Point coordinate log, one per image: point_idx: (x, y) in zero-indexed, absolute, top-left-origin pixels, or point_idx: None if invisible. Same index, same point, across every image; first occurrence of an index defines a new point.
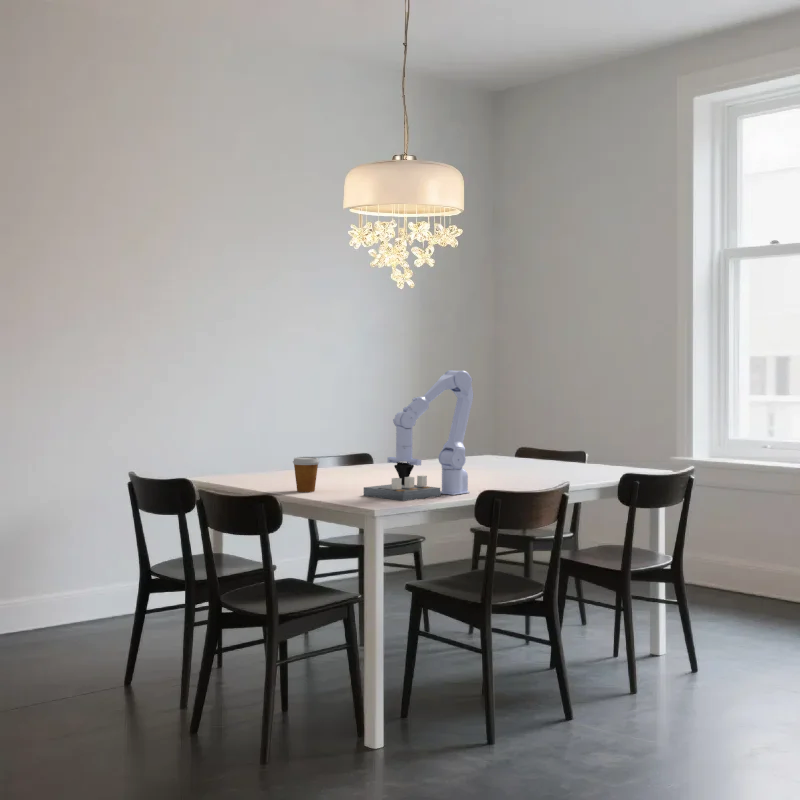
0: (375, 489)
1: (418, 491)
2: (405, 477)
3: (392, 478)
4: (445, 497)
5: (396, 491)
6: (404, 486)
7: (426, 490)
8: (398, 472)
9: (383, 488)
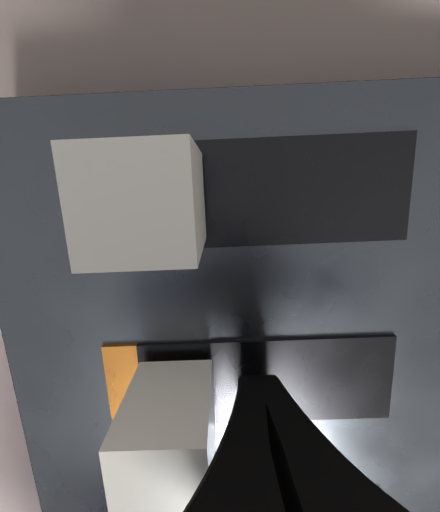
0: (407, 81)
1: (10, 336)
2: (190, 444)
3: (167, 136)
4: (14, 492)
5: (58, 95)
6: None
7: (31, 433)
8: (342, 485)
9: (339, 153)
